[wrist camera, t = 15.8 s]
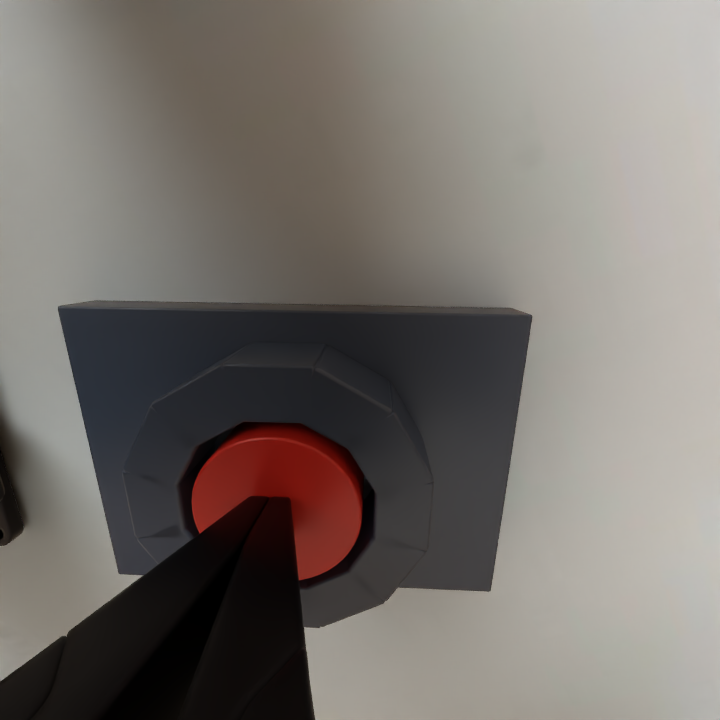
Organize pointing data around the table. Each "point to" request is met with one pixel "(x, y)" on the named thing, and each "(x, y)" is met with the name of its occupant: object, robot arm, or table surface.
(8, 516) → the robot arm
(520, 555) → the table surface
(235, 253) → the table surface
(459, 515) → the control block
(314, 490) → the button
